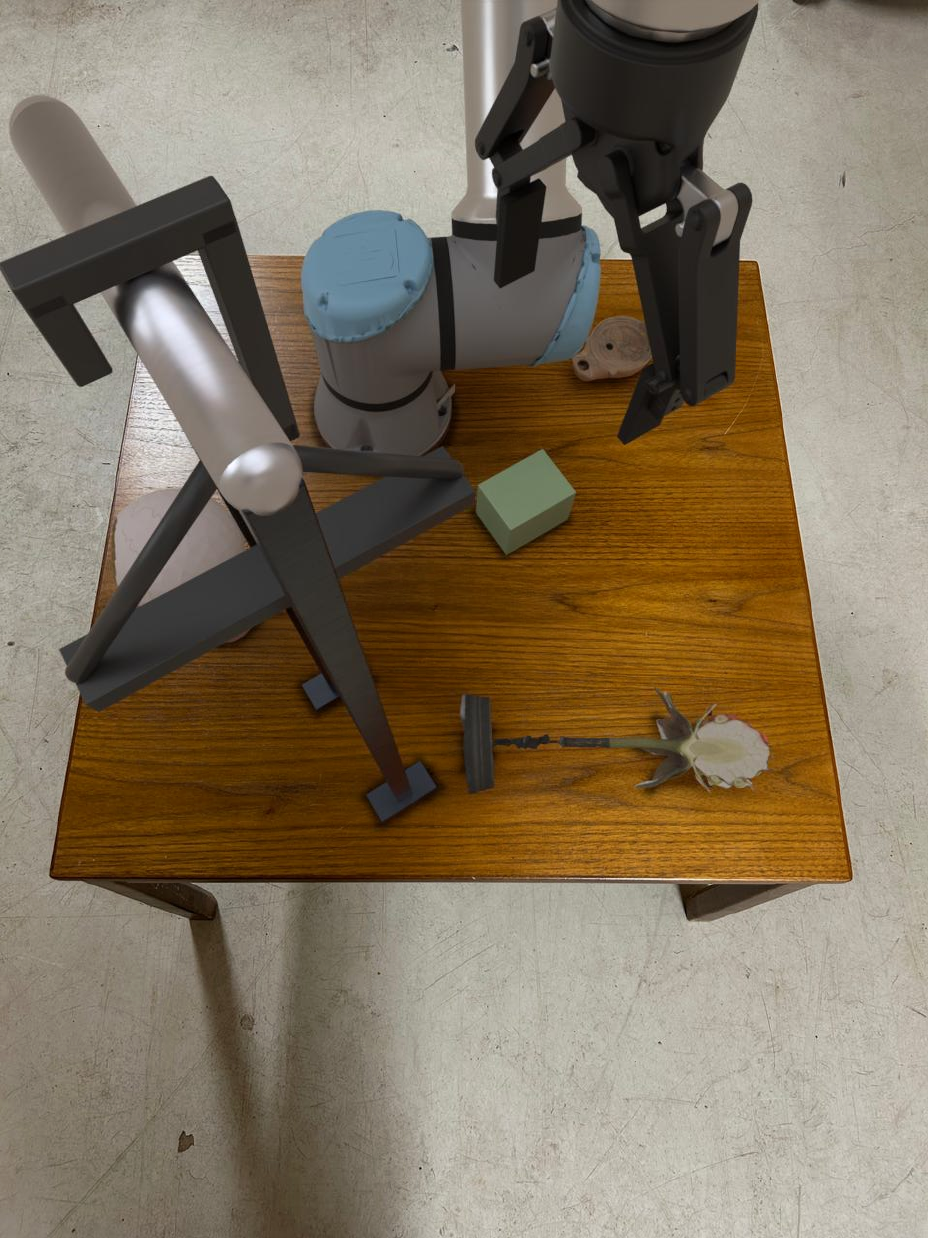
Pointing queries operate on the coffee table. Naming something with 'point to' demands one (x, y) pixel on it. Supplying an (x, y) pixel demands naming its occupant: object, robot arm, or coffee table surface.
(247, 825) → the coffee table surface
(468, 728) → the ornament
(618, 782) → the coffee table surface
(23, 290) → the hanger
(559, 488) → the block
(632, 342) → the oil lamp
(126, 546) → the ice cream cone
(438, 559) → the coffee table surface
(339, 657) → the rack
